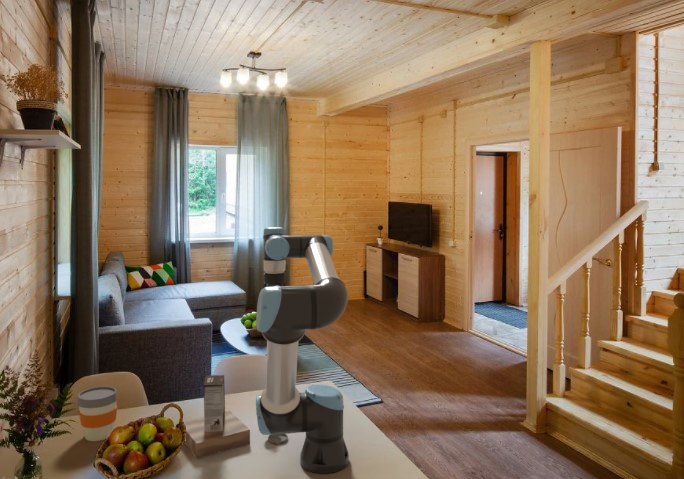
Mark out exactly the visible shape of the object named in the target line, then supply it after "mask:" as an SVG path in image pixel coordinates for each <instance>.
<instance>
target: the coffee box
mask: <svg viewBox="0 0 684 479" xmlns="http://www.w3.org/2000/svg"><path fill="white" fill-rule="evenodd" d="M225 393H226V391H225V375H224V374H223V375H222V374H220V375H219V374H212V375H211V374H210V375H205V377H204V382H203V417H204V429H205V432H215V431H224V424H225V412H226V400H225V399H226V397H225V396H226V394H225Z"/></svg>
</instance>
